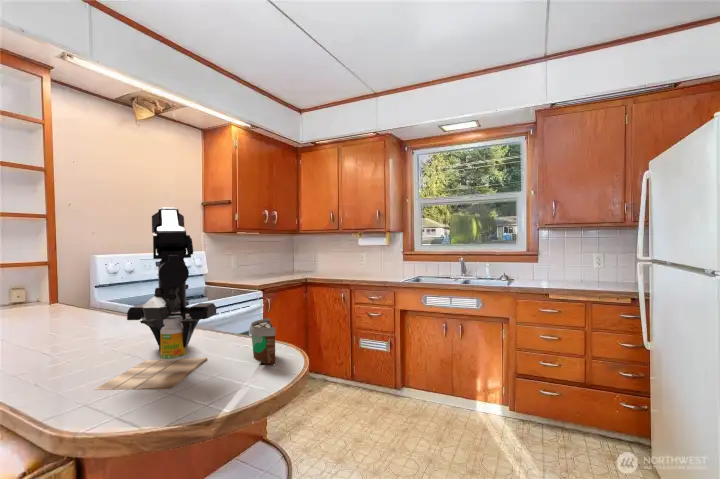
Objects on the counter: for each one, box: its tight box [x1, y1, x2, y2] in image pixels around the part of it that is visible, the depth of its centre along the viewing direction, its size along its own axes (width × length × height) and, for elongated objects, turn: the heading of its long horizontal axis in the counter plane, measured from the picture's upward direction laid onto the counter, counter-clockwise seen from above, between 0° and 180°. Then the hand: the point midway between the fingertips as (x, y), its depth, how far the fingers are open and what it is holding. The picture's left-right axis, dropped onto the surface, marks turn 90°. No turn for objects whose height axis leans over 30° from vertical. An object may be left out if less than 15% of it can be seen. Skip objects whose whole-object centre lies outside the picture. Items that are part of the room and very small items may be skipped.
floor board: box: [93, 359, 174, 391], centre depth 84 cm, size 18×8×1 cm, turn 0°
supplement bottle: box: [160, 316, 187, 361], centre depth 84 cm, size 5×5×10 cm
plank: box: [132, 357, 208, 390], centre depth 84 cm, size 18×8×1 cm, turn 0°
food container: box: [248, 318, 276, 366], centre depth 95 cm, size 12×6×10 cm, turn 21°
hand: (173, 347), depth 84 cm, fingers closed on supplement bottle, 5 cm apart
